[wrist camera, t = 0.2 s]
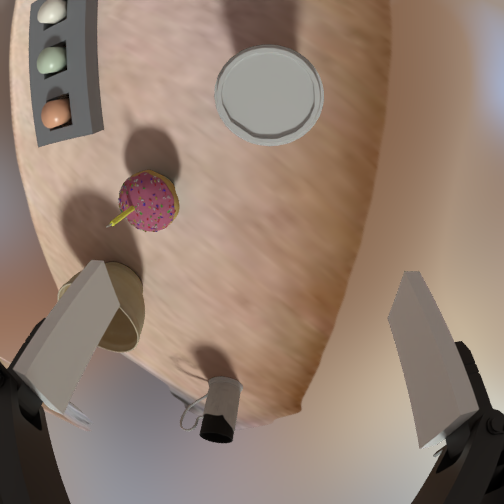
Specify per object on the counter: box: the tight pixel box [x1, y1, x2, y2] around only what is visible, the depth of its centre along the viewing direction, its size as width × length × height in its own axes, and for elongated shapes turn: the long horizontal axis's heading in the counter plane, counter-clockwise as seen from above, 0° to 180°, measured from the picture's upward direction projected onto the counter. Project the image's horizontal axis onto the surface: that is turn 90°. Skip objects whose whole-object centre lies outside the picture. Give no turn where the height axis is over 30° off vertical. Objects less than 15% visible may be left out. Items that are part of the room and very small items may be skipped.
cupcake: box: [106, 170, 179, 232], centre depth 35 cm, size 9×8×12 cm
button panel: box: [29, 0, 104, 147], centre depth 27 cm, size 26×12×3 cm, turn 1°
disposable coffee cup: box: [214, 44, 324, 146], centre depth 26 cm, size 10×10×12 cm
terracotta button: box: [41, 98, 72, 128], centre depth 30 cm, size 4×4×4 cm
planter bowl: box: [58, 262, 145, 353], centre depth 46 cm, size 16×16×11 cm
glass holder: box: [180, 376, 243, 443], centre depth 61 cm, size 9×14×15 cm, turn 103°
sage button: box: [37, 47, 67, 74], centre depth 26 cm, size 4×4×4 cm
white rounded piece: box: [37, 0, 68, 24], centre depth 21 cm, size 4×4×4 cm
